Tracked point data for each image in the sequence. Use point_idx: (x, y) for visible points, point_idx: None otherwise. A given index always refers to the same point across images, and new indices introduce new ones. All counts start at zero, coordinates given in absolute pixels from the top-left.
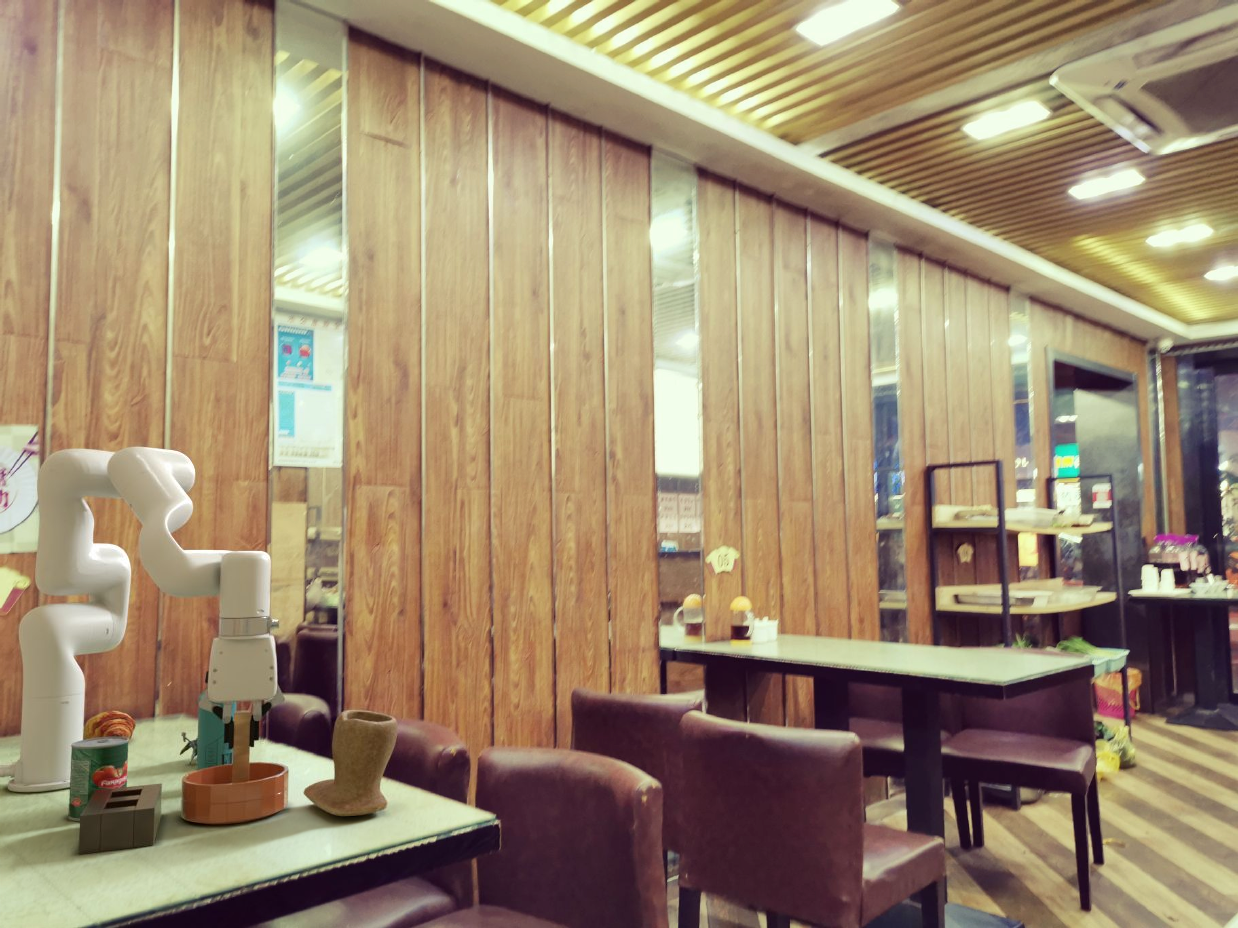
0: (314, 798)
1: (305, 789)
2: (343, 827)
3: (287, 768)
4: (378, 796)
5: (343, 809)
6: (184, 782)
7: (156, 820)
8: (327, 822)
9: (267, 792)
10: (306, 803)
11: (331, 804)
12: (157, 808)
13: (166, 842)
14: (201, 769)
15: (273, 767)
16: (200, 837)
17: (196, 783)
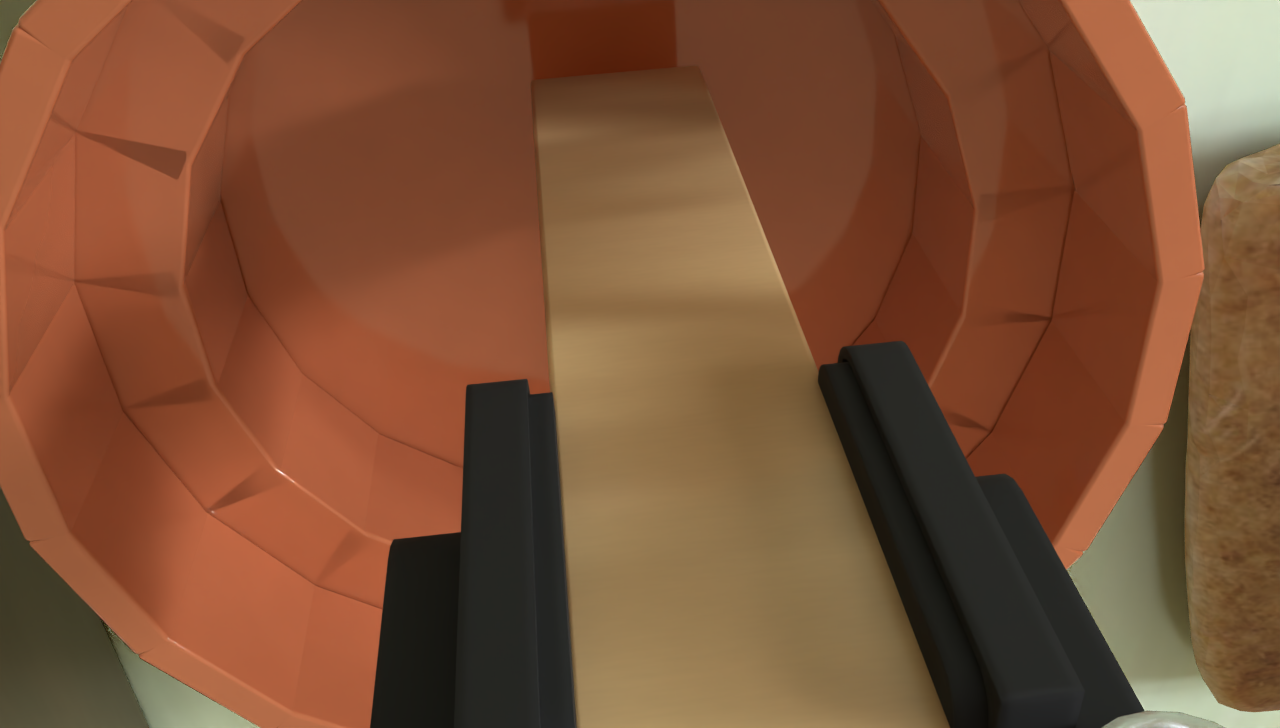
0: (1208, 476)
1: (1237, 224)
2: (1203, 703)
3: (1170, 376)
4: None
5: (1277, 709)
6: (91, 599)
7: (60, 675)
8: (1160, 607)
9: None
10: (1195, 90)
11: (1245, 666)
12: (10, 681)
13: (224, 718)
14: (59, 39)
15: (1069, 35)
16: None
17: (252, 697)
